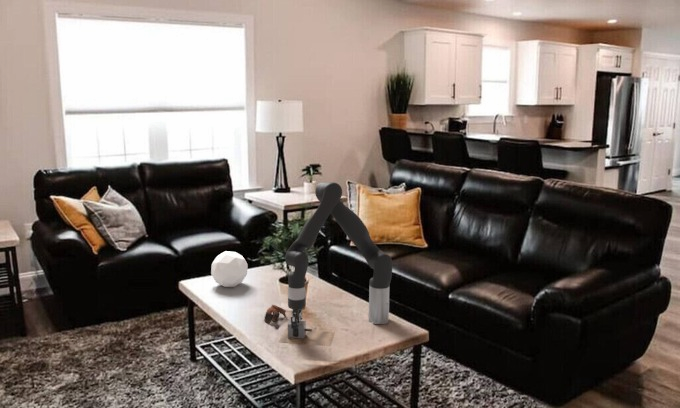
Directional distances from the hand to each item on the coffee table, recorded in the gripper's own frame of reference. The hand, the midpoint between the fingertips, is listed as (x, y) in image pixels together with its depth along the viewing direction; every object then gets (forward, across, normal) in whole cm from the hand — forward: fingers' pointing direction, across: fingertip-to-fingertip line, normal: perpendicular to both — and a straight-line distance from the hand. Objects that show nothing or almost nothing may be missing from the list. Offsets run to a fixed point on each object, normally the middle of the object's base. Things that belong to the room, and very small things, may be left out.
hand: (296, 333), depth 247 cm
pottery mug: (+3, +18, +14) cm, 23 cm away
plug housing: (+1, 0, -1) cm, 2 cm away
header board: (+3, 0, -4) cm, 5 cm away
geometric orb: (+3, +61, +50) cm, 79 cm away
